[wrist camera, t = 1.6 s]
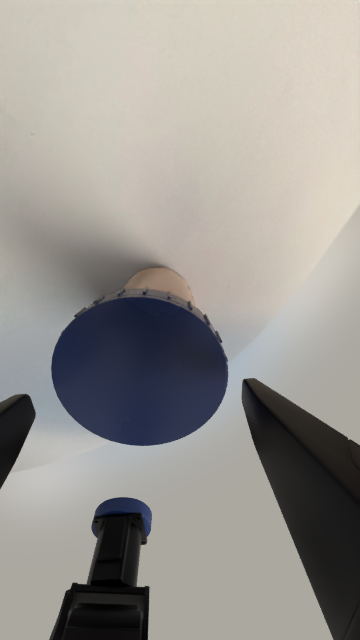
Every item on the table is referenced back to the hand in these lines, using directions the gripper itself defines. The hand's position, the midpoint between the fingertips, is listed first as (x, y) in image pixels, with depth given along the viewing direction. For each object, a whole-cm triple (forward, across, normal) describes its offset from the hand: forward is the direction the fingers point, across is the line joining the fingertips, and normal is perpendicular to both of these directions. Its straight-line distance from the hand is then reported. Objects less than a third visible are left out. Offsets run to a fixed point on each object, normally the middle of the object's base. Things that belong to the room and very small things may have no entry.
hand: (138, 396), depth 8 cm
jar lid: (+1, 0, 0) cm, 1 cm away
